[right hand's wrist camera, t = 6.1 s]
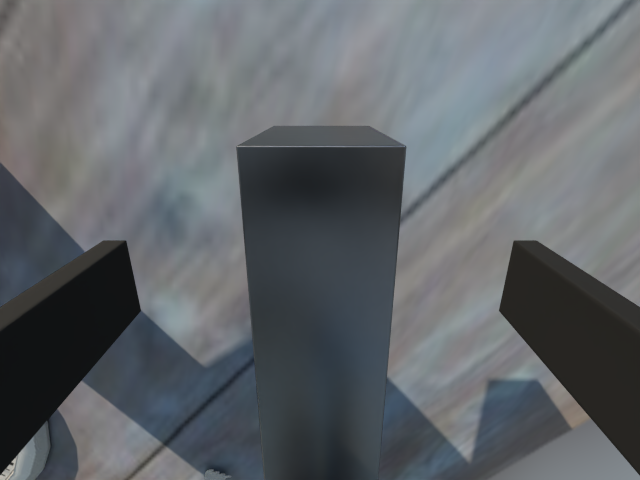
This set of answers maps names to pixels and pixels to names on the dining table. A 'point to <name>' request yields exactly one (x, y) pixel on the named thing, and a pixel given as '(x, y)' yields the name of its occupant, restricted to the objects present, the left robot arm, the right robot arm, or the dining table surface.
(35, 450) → the wall clock
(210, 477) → the fork
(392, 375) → the dining table surface
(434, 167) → the dining table surface
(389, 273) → the bar
